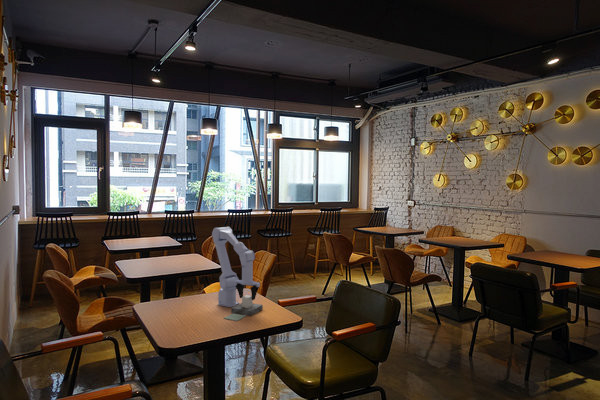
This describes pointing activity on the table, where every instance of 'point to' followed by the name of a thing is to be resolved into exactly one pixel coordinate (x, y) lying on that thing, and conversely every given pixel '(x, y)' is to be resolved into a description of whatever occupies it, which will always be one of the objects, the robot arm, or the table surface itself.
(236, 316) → the mat
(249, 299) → the block
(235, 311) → the pocket board
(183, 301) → the table surface
